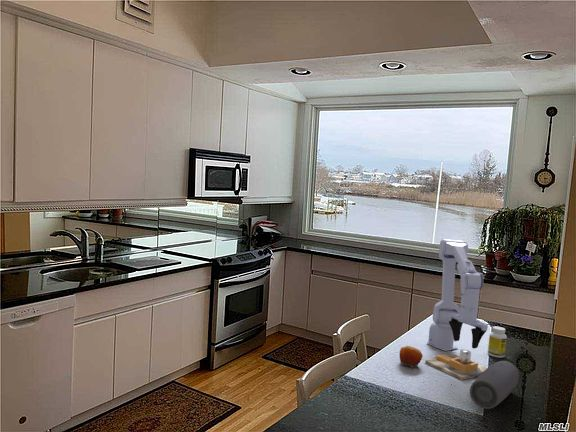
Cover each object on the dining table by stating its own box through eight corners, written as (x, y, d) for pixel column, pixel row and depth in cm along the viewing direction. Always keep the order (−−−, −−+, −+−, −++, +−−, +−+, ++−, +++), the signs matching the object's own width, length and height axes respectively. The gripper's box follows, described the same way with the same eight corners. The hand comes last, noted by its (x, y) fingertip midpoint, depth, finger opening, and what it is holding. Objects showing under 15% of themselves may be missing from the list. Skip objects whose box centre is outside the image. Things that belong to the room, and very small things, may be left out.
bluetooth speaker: (489, 384, 159) (492, 355, 159) (519, 393, 154) (522, 363, 153) (465, 406, 142) (469, 374, 141) (498, 418, 136) (502, 384, 135)
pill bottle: (502, 359, 183) (505, 331, 183) (485, 355, 187) (488, 327, 186) (506, 355, 188) (509, 328, 188) (490, 351, 192) (492, 324, 191)
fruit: (394, 363, 168) (399, 341, 171) (398, 368, 174) (403, 347, 178) (417, 369, 164) (422, 346, 168) (420, 374, 171) (425, 352, 174)
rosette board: (425, 362, 174) (425, 359, 174) (453, 356, 183) (454, 353, 183) (464, 381, 160) (464, 377, 160) (493, 373, 169) (493, 370, 169)
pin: (456, 366, 169) (458, 350, 169) (462, 364, 172) (463, 348, 171) (465, 370, 167) (467, 353, 166) (471, 368, 169) (473, 352, 168)
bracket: (433, 359, 176) (433, 352, 176) (445, 356, 180) (445, 349, 179) (465, 373, 164) (465, 366, 164) (477, 370, 168) (478, 363, 168)
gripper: (444, 302, 171) (441, 339, 172) (480, 313, 159) (476, 352, 160) (457, 300, 175) (454, 336, 176) (492, 311, 163) (488, 350, 164)
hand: (465, 344), depth 168 cm, fingers open, 7 cm apart
